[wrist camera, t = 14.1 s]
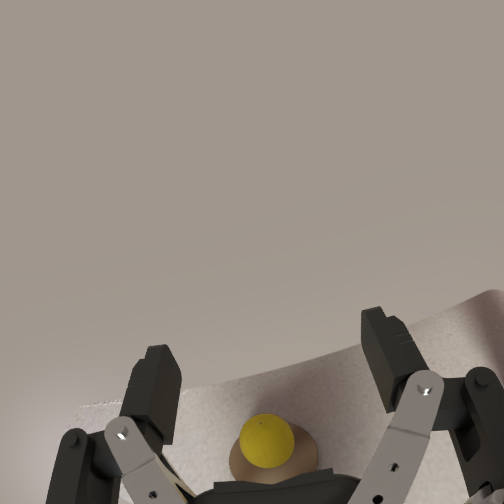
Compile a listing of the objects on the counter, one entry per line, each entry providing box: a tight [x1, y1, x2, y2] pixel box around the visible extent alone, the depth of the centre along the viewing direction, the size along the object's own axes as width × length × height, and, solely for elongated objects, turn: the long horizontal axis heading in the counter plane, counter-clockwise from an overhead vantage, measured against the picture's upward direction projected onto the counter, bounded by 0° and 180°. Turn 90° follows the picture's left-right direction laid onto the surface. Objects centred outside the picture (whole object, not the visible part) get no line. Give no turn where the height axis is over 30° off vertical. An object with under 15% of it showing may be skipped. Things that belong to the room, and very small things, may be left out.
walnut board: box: [229, 423, 318, 484], centre depth 30 cm, size 10×10×1 cm
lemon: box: [239, 414, 295, 468], centre depth 28 cm, size 6×6×8 cm
